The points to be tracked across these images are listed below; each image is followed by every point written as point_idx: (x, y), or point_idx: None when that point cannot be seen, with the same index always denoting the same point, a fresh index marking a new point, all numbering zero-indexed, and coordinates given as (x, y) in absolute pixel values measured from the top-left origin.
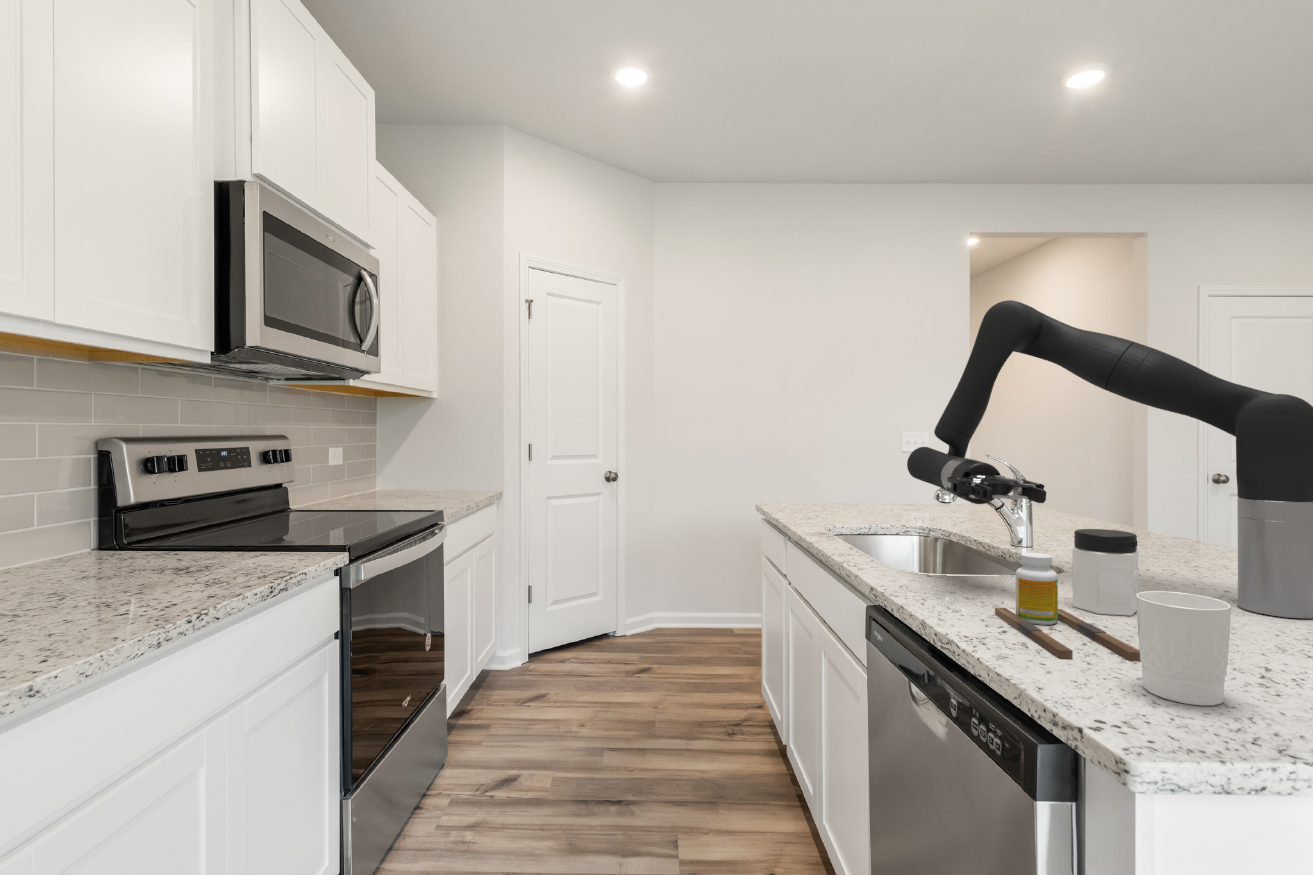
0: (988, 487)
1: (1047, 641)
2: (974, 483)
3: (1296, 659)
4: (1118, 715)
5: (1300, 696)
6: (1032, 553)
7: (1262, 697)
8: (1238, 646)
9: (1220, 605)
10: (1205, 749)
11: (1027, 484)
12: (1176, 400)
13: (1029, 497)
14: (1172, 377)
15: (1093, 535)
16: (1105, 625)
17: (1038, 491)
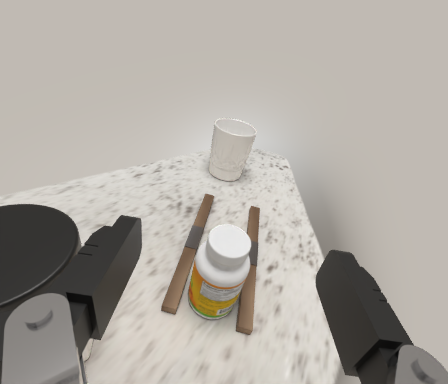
0: (344, 255)
1: (257, 221)
2: (418, 349)
3: (92, 177)
4: (270, 169)
5: (170, 158)
6: (227, 250)
7: (190, 162)
8: (93, 198)
9: (216, 123)
10: (257, 153)
11: (45, 337)
12: None
13: (108, 315)
14: None
15: (77, 231)
16: (145, 264)
17: (134, 233)
